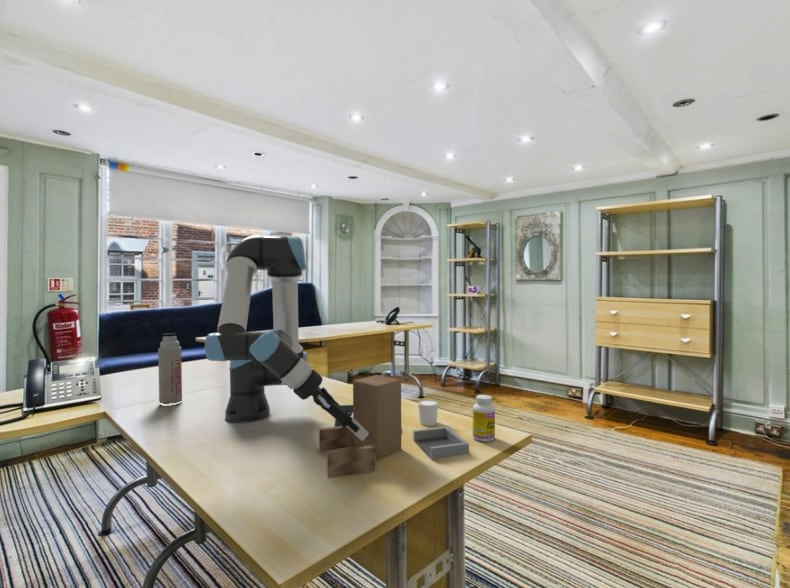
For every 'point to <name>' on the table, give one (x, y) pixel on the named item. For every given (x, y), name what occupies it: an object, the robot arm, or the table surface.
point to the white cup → (428, 412)
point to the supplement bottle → (483, 419)
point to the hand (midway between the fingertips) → (365, 436)
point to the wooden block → (378, 413)
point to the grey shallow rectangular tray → (440, 442)
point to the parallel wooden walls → (345, 452)
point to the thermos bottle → (170, 370)
